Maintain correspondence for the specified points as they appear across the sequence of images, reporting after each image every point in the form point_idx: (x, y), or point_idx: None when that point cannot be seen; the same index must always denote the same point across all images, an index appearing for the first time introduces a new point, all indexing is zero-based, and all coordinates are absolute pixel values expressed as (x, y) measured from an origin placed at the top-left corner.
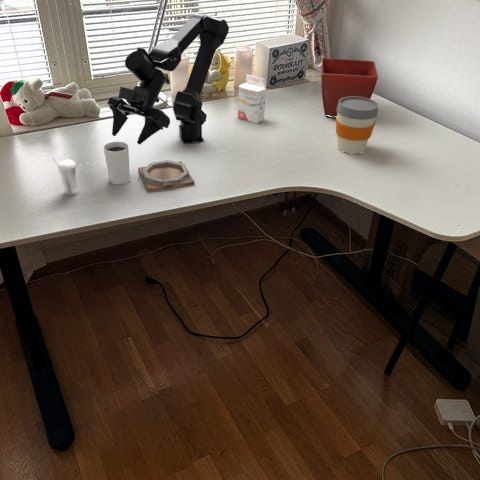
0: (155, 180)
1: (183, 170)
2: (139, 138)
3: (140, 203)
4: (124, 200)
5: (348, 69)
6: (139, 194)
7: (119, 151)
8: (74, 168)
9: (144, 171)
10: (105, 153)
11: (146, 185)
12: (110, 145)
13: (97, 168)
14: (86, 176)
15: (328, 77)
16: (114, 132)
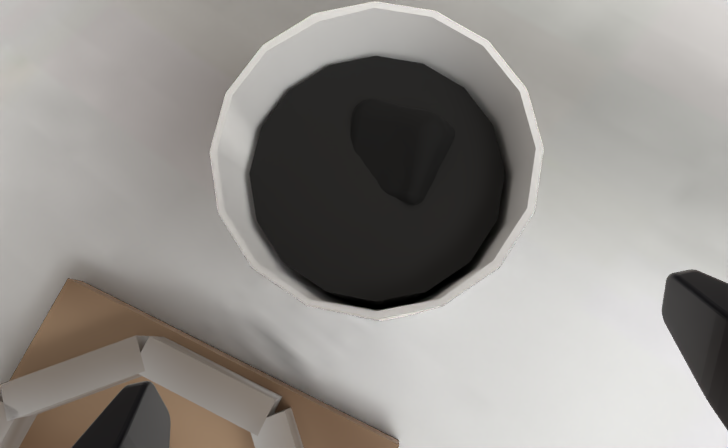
0: (53, 365)
1: None
2: (100, 436)
3: (18, 151)
4: (124, 100)
5: None
6: (108, 215)
7: (223, 103)
8: None
9: (238, 399)
10: (397, 37)
11: (123, 305)
12: (523, 174)
13: (646, 217)
14: (580, 92)
15: None
16: (692, 309)
